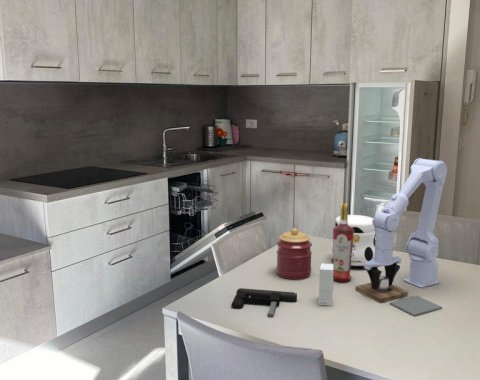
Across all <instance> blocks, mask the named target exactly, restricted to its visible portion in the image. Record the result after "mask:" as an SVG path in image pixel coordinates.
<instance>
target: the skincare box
mask: <svg viewBox="0 0 480 380" xmlns="http://www.w3.org/2000/svg"><path fill="white" fill-rule="evenodd" d="M333 271H334V268H333V263H320V268H319V287H318V288H319V289H318V305H319V306H332V305H333V293H334V292H333V291H334V289H333V288H334V287H333V286H334V278H333Z"/></svg>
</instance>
